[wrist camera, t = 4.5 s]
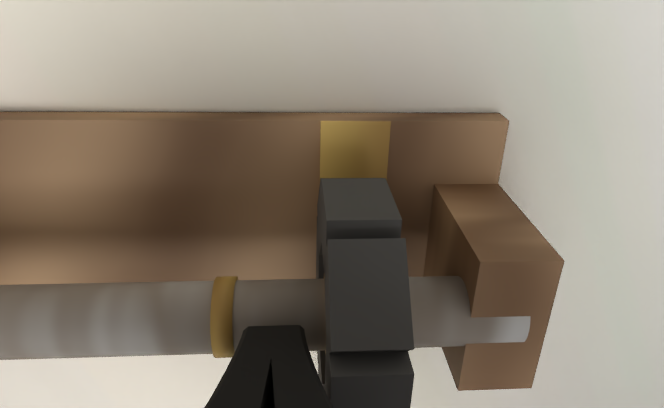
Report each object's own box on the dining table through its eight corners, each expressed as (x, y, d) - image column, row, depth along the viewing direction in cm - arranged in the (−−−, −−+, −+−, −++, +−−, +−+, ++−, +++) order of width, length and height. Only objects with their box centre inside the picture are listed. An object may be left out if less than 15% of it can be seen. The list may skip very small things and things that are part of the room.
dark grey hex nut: (373, 147, 15) (426, 278, 9) (362, 329, 18) (396, 518, 12) (317, 147, 15) (333, 280, 9) (315, 330, 18) (326, 522, 12)
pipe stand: (499, 113, 16) (590, 187, 11) (464, 322, 20) (521, 447, 15) (-165, 111, 15) (-392, 194, 10) (-73, 336, 18) (-207, 479, 13)
